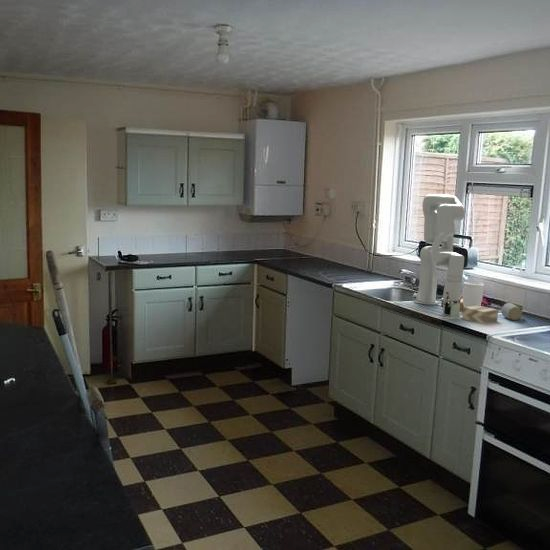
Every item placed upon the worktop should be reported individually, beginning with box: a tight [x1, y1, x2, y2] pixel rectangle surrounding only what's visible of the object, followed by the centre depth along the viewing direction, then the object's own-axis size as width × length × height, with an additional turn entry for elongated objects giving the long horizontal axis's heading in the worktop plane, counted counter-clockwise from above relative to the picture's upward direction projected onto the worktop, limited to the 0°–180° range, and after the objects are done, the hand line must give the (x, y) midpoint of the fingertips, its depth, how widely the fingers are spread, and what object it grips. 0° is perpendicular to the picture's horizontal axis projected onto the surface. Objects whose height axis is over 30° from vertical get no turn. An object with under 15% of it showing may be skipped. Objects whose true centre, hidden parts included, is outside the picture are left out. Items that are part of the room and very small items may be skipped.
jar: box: [461, 281, 485, 307], centre depth 331 cm, size 11×10×15 cm
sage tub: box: [441, 301, 461, 317], centre depth 318 cm, size 6×6×6 cm
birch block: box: [461, 305, 499, 325], centre depth 310 cm, size 12×12×6 cm
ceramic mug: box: [501, 302, 526, 321], centre depth 317 cm, size 11×8×8 cm
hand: (450, 313), depth 318 cm, fingers closed on sage tub, 6 cm apart
